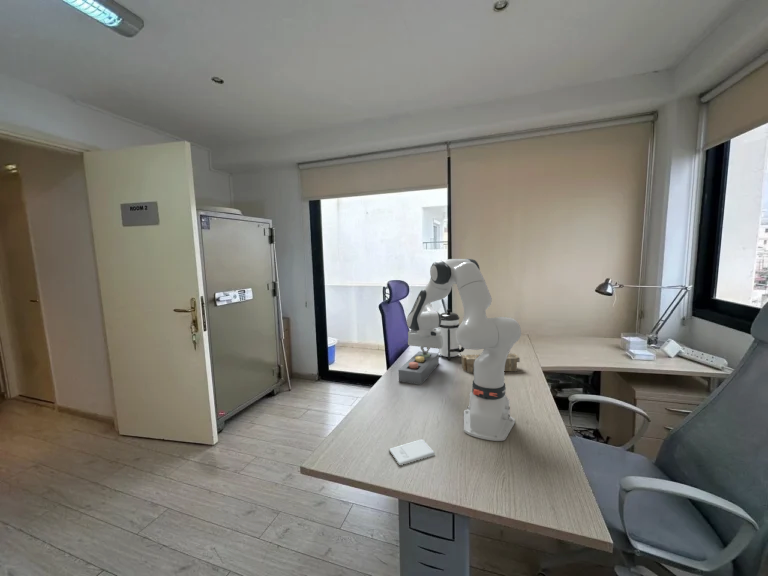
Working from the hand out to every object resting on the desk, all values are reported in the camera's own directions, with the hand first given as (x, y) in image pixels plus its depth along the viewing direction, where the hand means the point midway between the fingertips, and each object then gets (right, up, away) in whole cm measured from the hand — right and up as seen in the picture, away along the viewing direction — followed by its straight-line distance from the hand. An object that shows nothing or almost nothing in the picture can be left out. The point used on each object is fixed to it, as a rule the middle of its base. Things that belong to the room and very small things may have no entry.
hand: (425, 354), depth 178 cm
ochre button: (-4, -2, -9) cm, 10 cm away
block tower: (+34, -7, -8) cm, 36 cm away
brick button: (-8, -3, -18) cm, 20 cm away
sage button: (0, -2, 0) cm, 2 cm away
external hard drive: (-15, -16, -78) cm, 81 cm away
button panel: (-4, -8, -8) cm, 12 cm away
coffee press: (+18, -5, +14) cm, 23 cm away
